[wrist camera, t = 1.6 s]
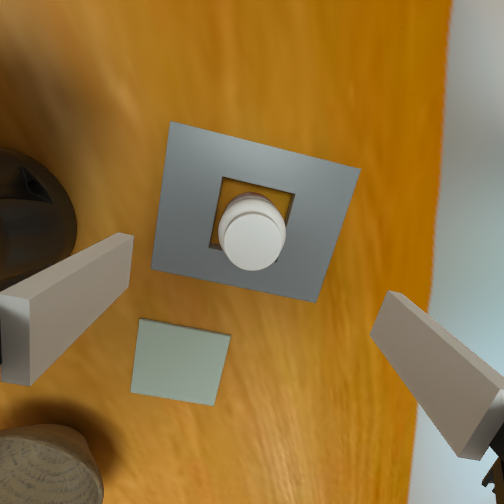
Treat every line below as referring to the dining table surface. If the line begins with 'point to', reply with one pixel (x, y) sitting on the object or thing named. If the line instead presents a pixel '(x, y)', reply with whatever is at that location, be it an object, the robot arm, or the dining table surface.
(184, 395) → the mat
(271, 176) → the socket block
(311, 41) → the dining table surface
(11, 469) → the bowl
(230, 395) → the dining table surface
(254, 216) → the pill bottle
